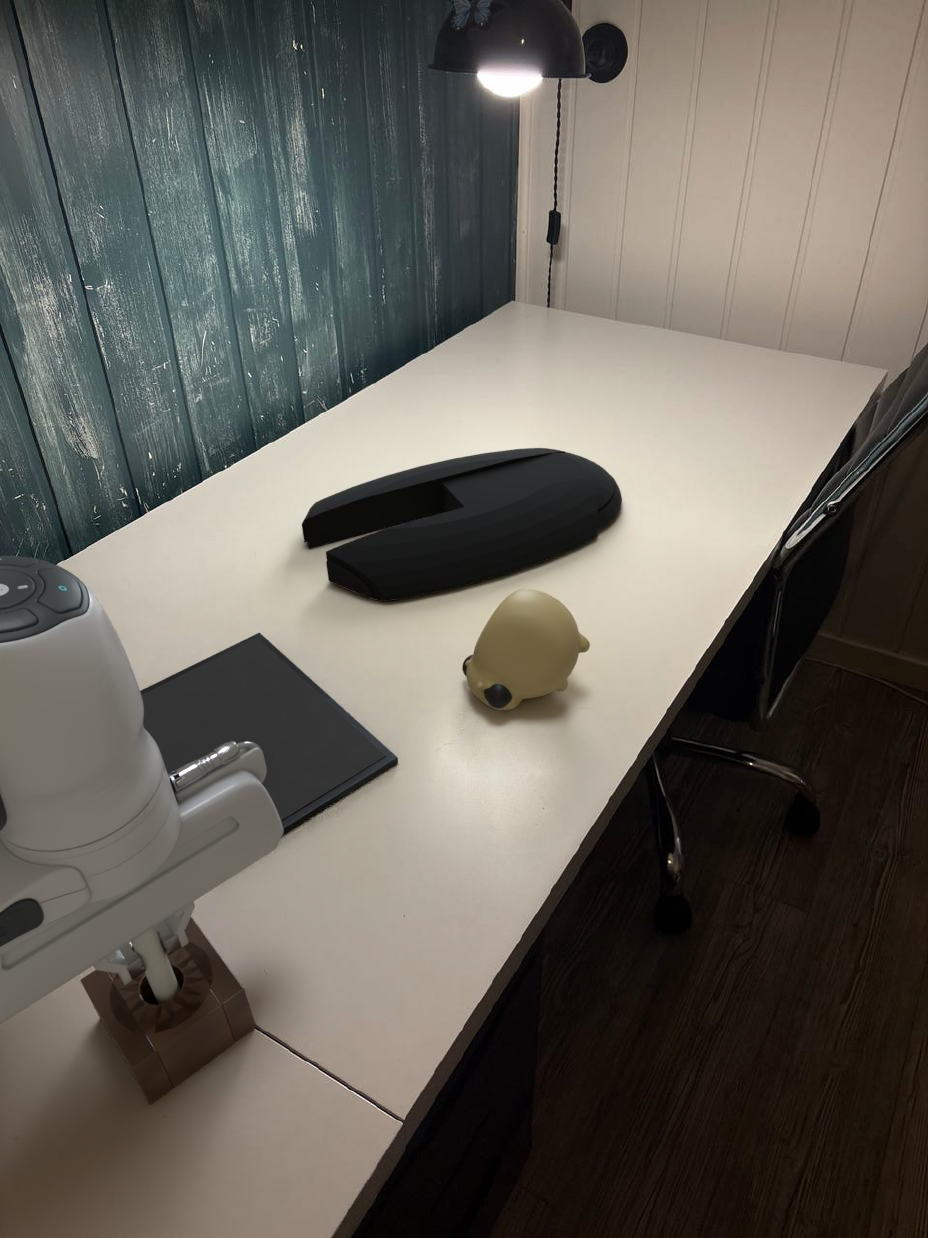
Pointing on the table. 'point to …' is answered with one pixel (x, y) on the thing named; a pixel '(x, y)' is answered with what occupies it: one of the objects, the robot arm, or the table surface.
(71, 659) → the robot arm
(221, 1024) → the pen block
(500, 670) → the toy pig
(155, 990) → the stylus
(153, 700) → the tablet
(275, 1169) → the table surface
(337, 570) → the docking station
